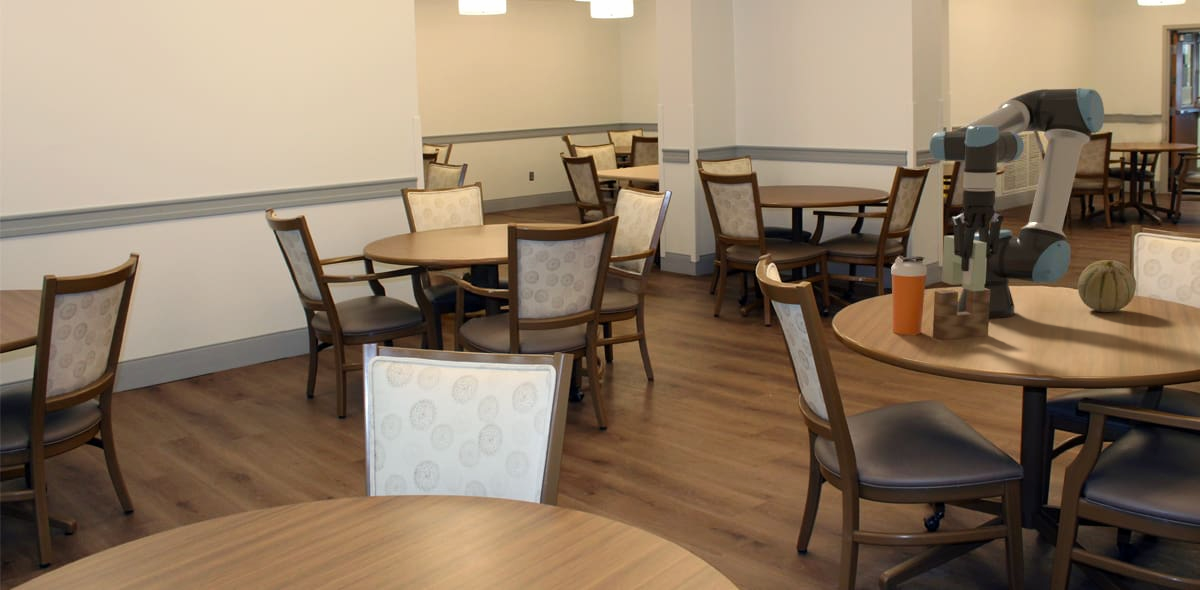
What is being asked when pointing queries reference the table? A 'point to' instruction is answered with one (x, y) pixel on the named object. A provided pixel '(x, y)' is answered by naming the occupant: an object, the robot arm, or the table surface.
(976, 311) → the brown wooden slotted board
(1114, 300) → the cantaloupe
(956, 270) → the slot plate
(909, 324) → the shaker bottle
